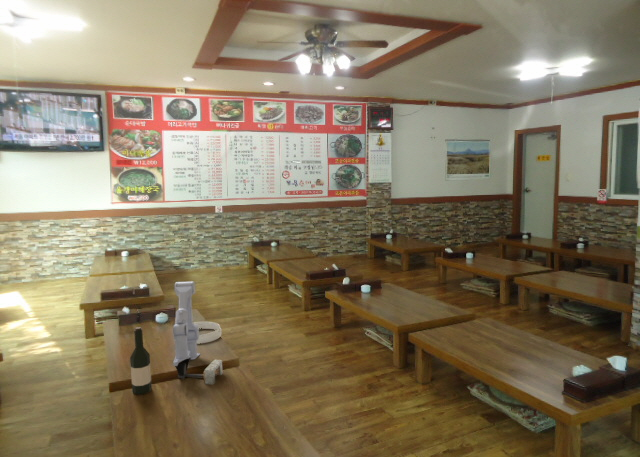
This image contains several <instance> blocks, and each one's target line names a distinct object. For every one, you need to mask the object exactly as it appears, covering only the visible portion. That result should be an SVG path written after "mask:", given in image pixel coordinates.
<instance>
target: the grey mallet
mask: <svg viewBox="0 0 640 457" xmlns="http://www.w3.org/2000/svg"><path fill="white" fill-rule="evenodd" d="M215 376H217V375H216V373H215ZM177 377H178V379H185V378H186V377H189V378H203V381H205V370H204V371H203V374H199V373H188V370H187V371H186V364H185V367H184V375H183V376H179V374H178V373H177Z"/></svg>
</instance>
